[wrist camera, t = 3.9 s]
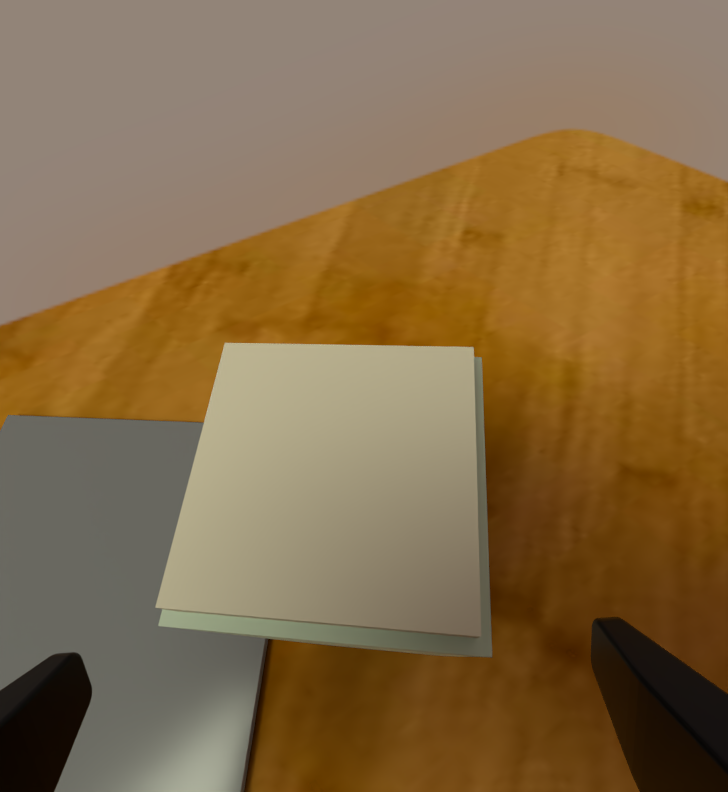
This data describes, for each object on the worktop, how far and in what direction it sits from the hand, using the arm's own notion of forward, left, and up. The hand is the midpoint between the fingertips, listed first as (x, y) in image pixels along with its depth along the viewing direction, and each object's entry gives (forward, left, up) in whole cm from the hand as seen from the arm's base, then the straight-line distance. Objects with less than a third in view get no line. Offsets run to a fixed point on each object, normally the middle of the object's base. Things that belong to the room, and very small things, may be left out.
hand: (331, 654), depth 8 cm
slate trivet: (+1, +11, -10) cm, 15 cm away
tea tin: (+2, 0, -10) cm, 10 cm away
